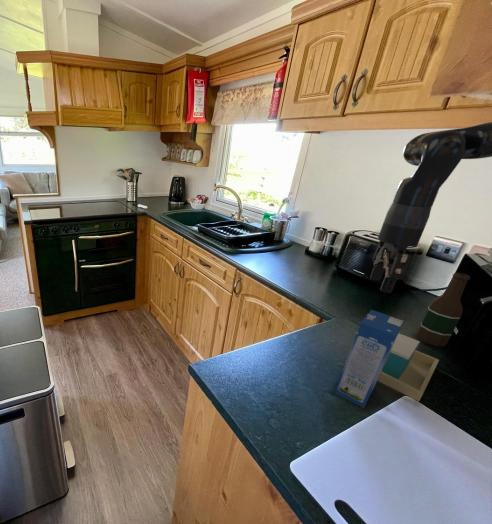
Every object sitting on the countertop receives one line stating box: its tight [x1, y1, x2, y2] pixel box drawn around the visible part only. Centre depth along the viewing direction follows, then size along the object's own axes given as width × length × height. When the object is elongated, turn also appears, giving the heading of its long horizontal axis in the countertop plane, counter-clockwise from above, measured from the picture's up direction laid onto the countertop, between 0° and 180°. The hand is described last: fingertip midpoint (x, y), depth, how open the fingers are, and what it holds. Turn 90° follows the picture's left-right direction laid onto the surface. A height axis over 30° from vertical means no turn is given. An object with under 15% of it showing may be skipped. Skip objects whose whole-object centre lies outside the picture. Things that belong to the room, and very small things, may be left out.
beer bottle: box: [415, 272, 471, 348], centre depth 92 cm, size 8×8×24 cm
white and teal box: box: [381, 332, 421, 380], centre depth 80 cm, size 6×12×8 cm, turn 128°
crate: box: [377, 349, 440, 402], centre depth 81 cm, size 16×22×3 cm
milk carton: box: [333, 309, 405, 409], centre depth 69 cm, size 10×6×20 cm, turn 131°
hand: (379, 285), depth 74 cm, fingers open, 8 cm apart
